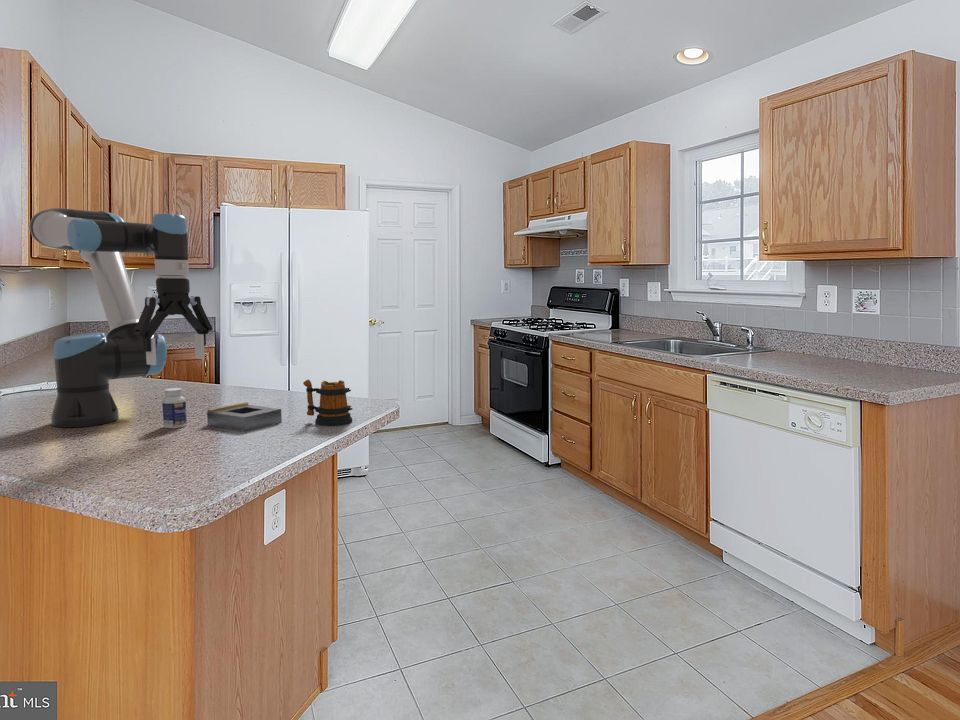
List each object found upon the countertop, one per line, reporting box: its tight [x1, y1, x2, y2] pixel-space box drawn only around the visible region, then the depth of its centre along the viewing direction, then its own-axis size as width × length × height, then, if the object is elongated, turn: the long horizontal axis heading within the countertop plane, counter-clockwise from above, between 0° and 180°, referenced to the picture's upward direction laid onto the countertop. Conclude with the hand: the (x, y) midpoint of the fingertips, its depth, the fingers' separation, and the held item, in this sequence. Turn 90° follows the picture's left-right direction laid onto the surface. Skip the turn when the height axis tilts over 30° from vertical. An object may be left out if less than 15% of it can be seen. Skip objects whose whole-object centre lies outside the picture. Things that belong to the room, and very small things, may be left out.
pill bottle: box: [161, 387, 187, 429], centre depth 158 cm, size 5×5×10 cm
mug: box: [302, 379, 353, 427], centre depth 163 cm, size 13×10×12 cm
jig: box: [206, 401, 283, 432], centre depth 162 cm, size 14×12×4 cm
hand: (176, 361), depth 157 cm, fingers open, 13 cm apart
